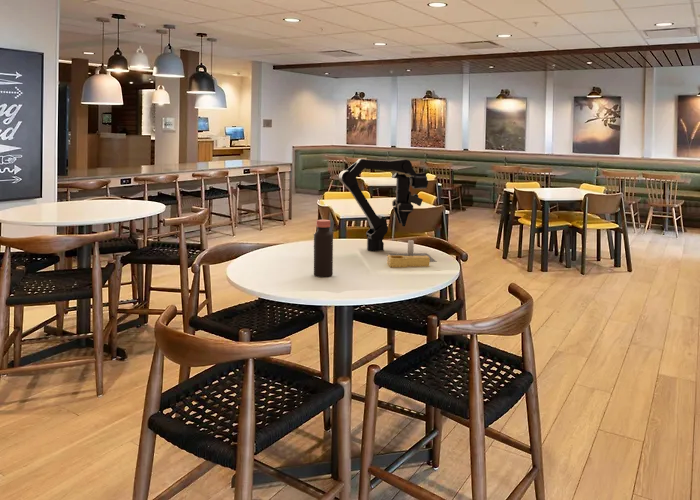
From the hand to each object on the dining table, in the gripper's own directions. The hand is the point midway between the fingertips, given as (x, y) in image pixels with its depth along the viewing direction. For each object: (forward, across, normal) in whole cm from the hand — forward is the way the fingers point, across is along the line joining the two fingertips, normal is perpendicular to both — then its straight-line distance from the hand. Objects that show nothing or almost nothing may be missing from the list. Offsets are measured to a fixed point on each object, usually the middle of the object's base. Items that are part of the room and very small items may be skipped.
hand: (401, 224), depth 266 cm
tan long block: (+12, -34, +3) cm, 36 cm away
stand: (+12, -18, -2) cm, 22 cm away
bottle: (+12, -44, +36) cm, 58 cm away
